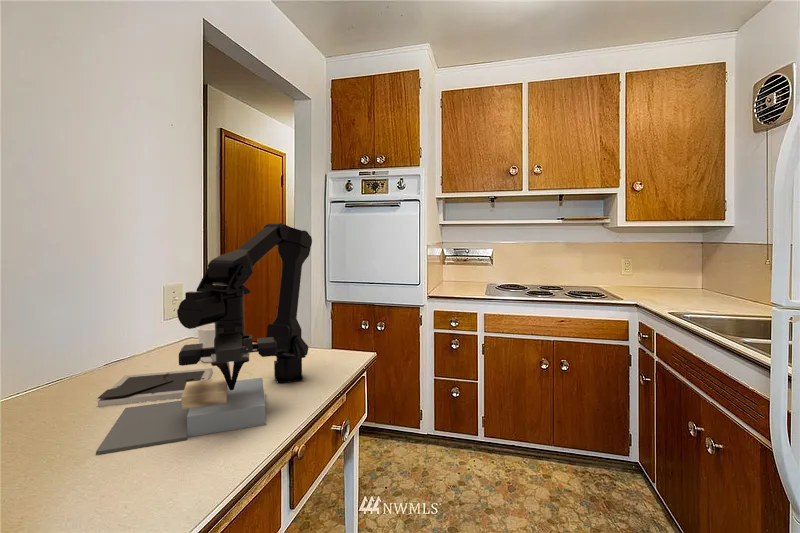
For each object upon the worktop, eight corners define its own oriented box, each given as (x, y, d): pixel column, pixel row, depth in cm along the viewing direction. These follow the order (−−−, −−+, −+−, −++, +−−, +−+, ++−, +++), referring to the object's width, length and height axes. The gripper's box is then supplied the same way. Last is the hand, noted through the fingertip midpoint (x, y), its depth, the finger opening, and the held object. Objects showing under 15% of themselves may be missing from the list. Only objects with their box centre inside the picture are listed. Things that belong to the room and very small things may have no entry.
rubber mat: (198, 400, 90) (197, 398, 89) (187, 439, 73) (186, 436, 73) (125, 410, 84) (125, 407, 84) (96, 454, 68) (95, 451, 68)
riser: (262, 393, 94) (262, 377, 93) (265, 424, 79) (265, 405, 79) (197, 402, 89) (196, 385, 88) (187, 437, 74) (186, 416, 73)
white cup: (220, 363, 115) (218, 330, 114) (193, 363, 115) (192, 329, 114) (231, 355, 123) (231, 323, 122) (207, 354, 123) (205, 323, 122)
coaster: (227, 388, 87) (227, 377, 87) (226, 402, 80) (226, 390, 79) (187, 393, 84) (186, 382, 84) (181, 409, 77) (181, 396, 76)
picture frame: (98, 410, 86) (202, 399, 92) (97, 397, 86) (201, 387, 92) (124, 383, 101) (212, 375, 107) (124, 372, 101) (212, 365, 107)
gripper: (172, 330, 71) (176, 413, 72) (279, 322, 78) (280, 397, 79) (181, 318, 81) (184, 390, 83) (274, 311, 88) (276, 378, 90)
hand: (231, 389), depth 83 cm, fingers closed
